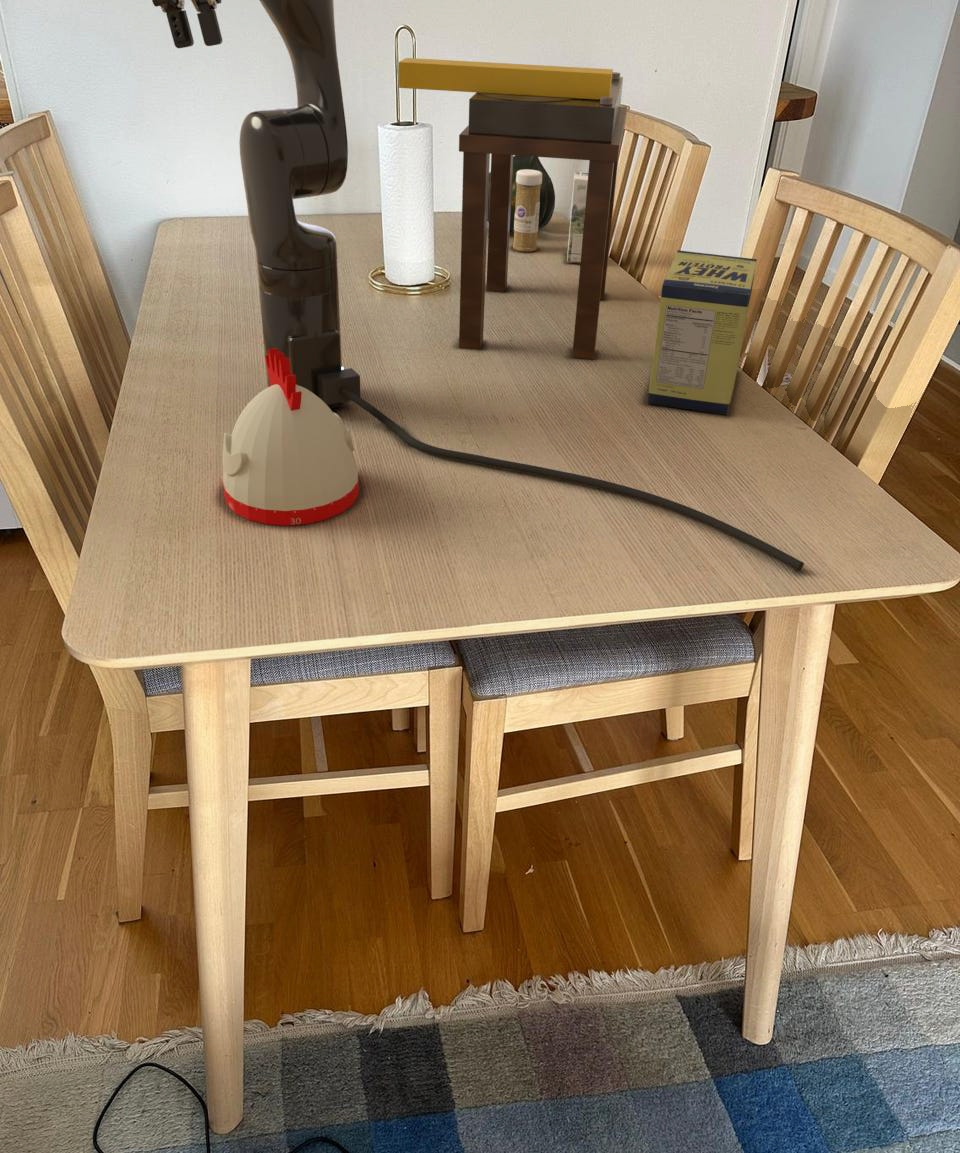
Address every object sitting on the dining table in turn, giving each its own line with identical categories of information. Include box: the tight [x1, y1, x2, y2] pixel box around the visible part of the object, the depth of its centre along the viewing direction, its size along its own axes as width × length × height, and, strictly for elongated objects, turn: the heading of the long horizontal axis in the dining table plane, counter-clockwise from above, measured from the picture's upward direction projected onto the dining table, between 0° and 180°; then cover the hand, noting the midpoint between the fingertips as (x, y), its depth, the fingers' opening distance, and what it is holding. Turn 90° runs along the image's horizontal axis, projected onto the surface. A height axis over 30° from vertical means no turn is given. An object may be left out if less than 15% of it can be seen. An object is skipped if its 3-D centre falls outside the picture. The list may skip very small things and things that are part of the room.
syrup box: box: [566, 171, 589, 265], centre depth 176 cm, size 6×6×14 cm
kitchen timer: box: [221, 348, 360, 526], centre depth 102 cm, size 14×14×15 cm
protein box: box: [646, 249, 758, 416], centre depth 129 cm, size 10×16×16 cm
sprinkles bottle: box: [512, 169, 542, 253], centre depth 181 cm, size 5×5×13 cm
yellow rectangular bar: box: [398, 57, 614, 100], centre depth 129 cm, size 27×4×3 cm, turn 81°
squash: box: [487, 155, 556, 235], centre depth 192 cm, size 14×15×15 cm
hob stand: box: [458, 71, 628, 360], centre depth 144 cm, size 20×30×33 cm, turn 171°
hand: (200, 46), depth 123 cm, fingers open, 8 cm apart
